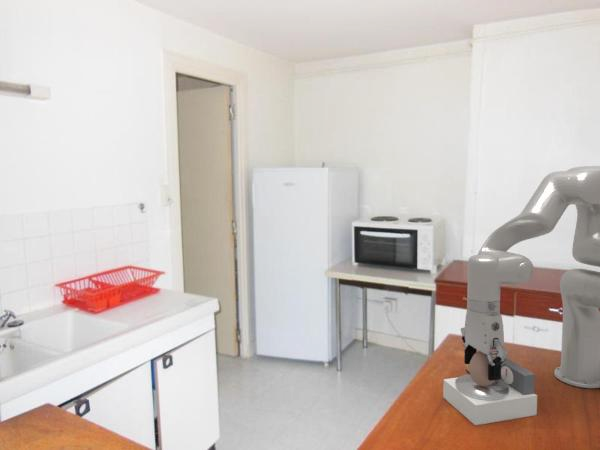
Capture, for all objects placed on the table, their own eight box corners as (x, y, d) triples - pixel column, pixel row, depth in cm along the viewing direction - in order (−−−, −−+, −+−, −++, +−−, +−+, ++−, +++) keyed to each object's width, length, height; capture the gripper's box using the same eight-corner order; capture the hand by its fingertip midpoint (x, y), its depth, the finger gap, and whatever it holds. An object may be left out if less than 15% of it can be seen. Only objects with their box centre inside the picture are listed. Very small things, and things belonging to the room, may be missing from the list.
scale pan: (487, 374, 122) (487, 371, 122) (520, 396, 110) (520, 393, 110) (445, 380, 119) (445, 377, 119) (474, 403, 107) (474, 400, 107)
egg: (492, 379, 117) (492, 345, 116) (501, 392, 111) (501, 356, 110) (465, 379, 118) (466, 345, 117) (473, 391, 111) (473, 355, 110)
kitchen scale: (499, 388, 124) (500, 353, 123) (536, 414, 111) (538, 375, 110) (443, 397, 120) (443, 361, 119) (475, 425, 107) (475, 385, 106)
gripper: (520, 314, 105) (518, 384, 107) (475, 294, 121) (474, 356, 123) (492, 317, 103) (490, 388, 105) (450, 297, 120) (449, 359, 122)
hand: (481, 371), depth 114 cm, fingers open, 9 cm apart
